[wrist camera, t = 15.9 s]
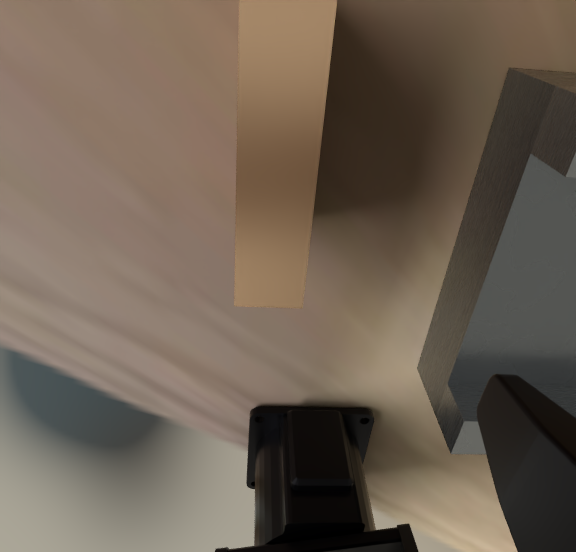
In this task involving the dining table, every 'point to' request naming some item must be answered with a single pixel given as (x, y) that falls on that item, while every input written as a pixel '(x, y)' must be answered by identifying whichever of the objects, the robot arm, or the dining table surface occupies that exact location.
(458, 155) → the dining table surface
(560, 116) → the slot block
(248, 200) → the wooden block
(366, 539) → the robot arm
